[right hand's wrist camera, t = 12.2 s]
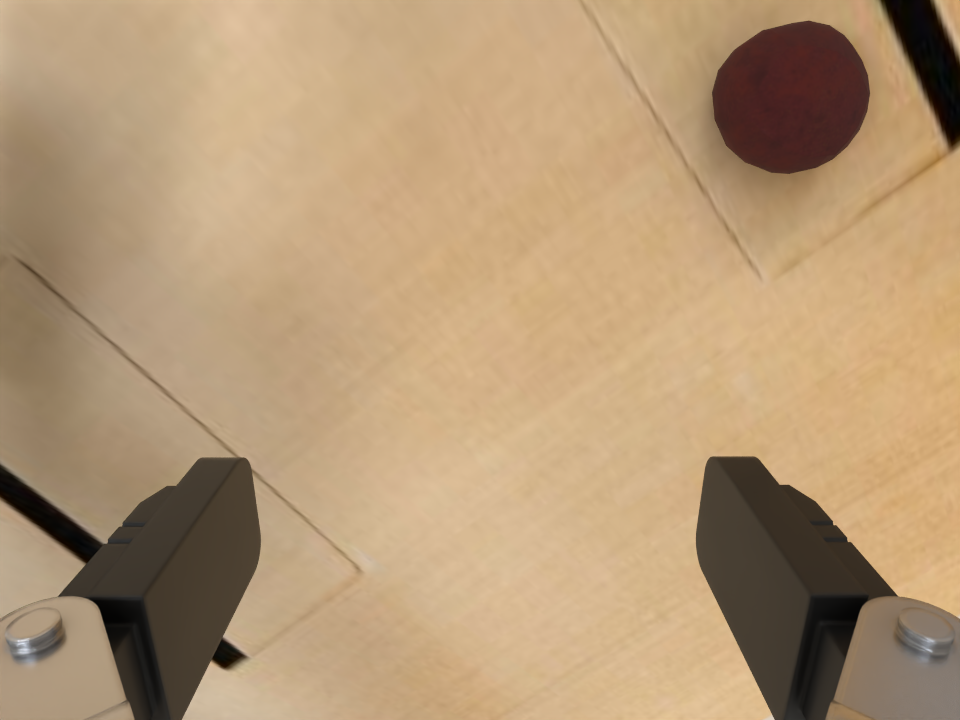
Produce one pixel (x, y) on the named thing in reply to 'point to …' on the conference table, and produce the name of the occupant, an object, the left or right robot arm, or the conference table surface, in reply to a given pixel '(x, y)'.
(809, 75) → the potato
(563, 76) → the conference table surface
